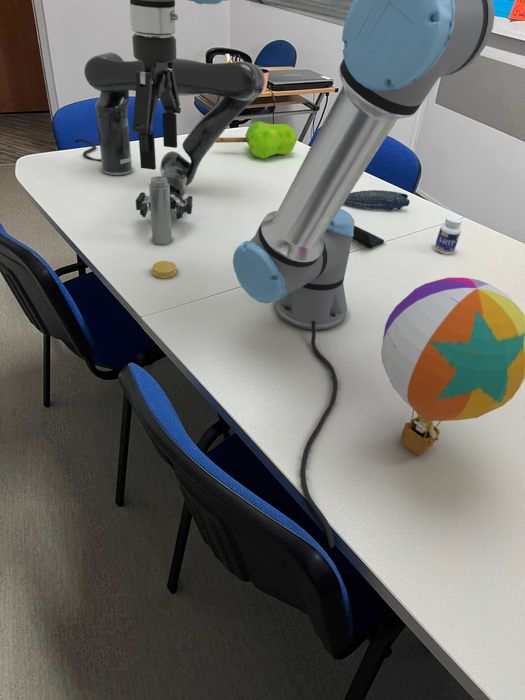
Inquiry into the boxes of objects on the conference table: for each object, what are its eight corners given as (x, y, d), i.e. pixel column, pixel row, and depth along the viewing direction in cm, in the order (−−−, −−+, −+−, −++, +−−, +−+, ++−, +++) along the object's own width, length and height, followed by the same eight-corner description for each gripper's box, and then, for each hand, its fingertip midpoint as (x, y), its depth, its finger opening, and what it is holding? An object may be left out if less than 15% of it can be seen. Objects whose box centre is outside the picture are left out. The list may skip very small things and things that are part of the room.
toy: (330, 436, 84) (367, 277, 66) (403, 387, 95) (453, 238, 76) (431, 520, 73) (510, 357, 55) (500, 454, 84) (586, 299, 65)
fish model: (408, 214, 157) (412, 198, 153) (339, 207, 158) (341, 191, 154) (406, 206, 162) (410, 190, 159) (339, 199, 163) (341, 183, 160)
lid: (171, 280, 118) (171, 274, 117) (149, 276, 119) (149, 270, 118) (179, 269, 122) (179, 263, 121) (157, 265, 123) (157, 259, 122)
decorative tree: (211, 117, 187) (292, 117, 193) (212, 147, 194) (290, 146, 199) (217, 132, 174) (304, 131, 179) (217, 163, 180) (301, 162, 186)
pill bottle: (433, 251, 139) (442, 220, 133) (435, 243, 143) (444, 213, 137) (453, 256, 138) (464, 225, 132) (454, 247, 142) (465, 217, 136)
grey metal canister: (155, 235, 135) (151, 174, 125) (173, 237, 135) (171, 176, 125) (150, 243, 131) (146, 181, 121) (169, 245, 131) (166, 183, 121)
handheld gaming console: (388, 234, 141) (380, 212, 133) (377, 256, 140) (367, 236, 131) (351, 226, 147) (341, 204, 139) (340, 247, 146) (329, 227, 138)
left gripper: (143, 174, 140) (130, 198, 127) (196, 178, 140) (188, 202, 128) (145, 201, 144) (133, 226, 132) (196, 204, 145) (189, 230, 132)
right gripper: (150, 47, 80) (157, 181, 94) (194, 27, 100) (195, 141, 113) (104, 42, 81) (117, 175, 94) (156, 23, 101) (161, 136, 114)
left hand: (160, 215), depth 130 cm, fingers open, 8 cm apart
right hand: (160, 157), depth 104 cm, fingers open, 13 cm apart
